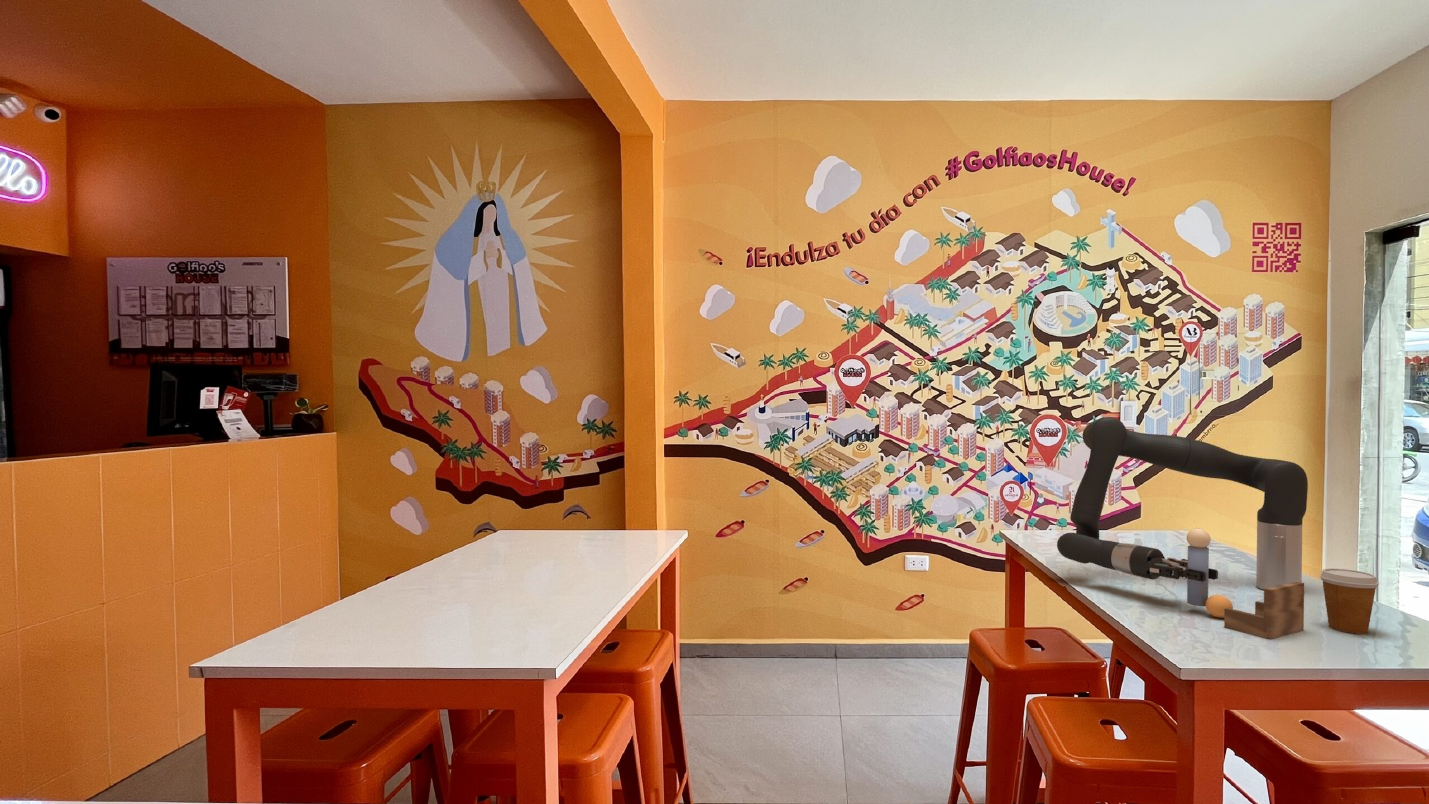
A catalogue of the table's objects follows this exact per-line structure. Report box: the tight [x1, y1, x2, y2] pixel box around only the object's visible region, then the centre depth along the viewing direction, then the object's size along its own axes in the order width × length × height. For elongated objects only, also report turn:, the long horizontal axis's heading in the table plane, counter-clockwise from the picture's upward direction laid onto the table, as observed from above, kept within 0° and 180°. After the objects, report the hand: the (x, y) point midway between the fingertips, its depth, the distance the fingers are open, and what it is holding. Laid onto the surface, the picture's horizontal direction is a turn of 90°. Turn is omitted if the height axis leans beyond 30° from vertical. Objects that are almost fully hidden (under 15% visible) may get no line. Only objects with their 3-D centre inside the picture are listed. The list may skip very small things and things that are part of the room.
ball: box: [1205, 594, 1234, 619], centre depth 163 cm, size 5×5×5 cm
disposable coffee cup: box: [1319, 567, 1380, 635], centre depth 155 cm, size 10×10×12 cm
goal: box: [1223, 582, 1305, 640], centre depth 155 cm, size 13×9×10 cm, turn 117°
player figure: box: [1185, 527, 1212, 607], centre depth 167 cm, size 5×5×17 cm
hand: (1210, 576), depth 164 cm, fingers closed on player figure, 4 cm apart
